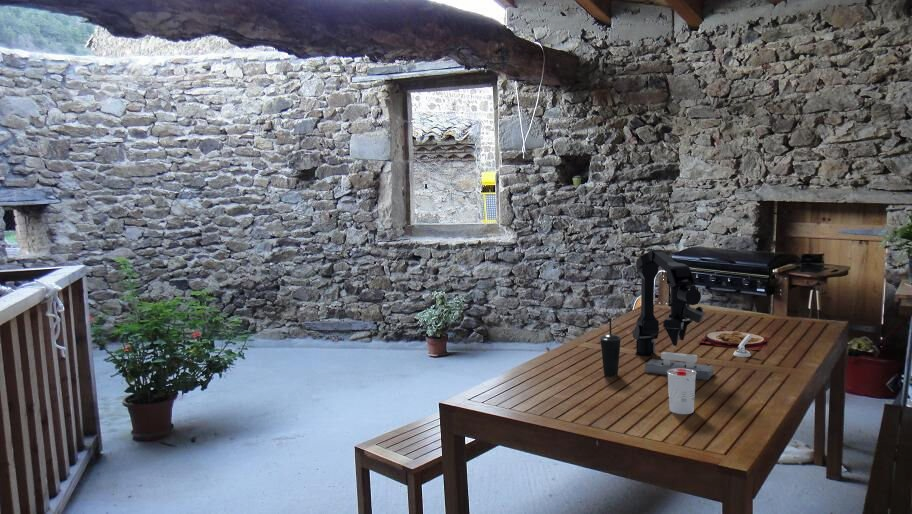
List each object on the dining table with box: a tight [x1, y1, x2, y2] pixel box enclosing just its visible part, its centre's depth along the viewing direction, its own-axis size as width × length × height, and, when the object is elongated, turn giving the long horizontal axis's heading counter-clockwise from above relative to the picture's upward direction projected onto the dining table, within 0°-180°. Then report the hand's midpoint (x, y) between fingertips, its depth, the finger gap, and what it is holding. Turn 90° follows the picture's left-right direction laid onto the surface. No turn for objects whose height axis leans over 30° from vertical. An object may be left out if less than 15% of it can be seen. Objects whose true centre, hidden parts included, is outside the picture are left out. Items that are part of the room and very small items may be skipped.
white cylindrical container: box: [667, 368, 696, 415], centre depth 201 cm, size 10×8×12 cm
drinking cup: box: [599, 319, 622, 377], centre depth 241 cm, size 8×8×20 cm
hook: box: [733, 334, 751, 358], centre depth 261 cm, size 6×10×6 cm
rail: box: [644, 358, 714, 381], centre depth 240 cm, size 22×8×3 cm, turn 57°
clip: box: [660, 351, 698, 369], centre depth 240 cm, size 12×3×7 cm, turn 57°
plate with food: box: [697, 325, 770, 351], centre depth 284 cm, size 25×26×4 cm
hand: (678, 342), depth 241 cm, fingers open, 9 cm apart
